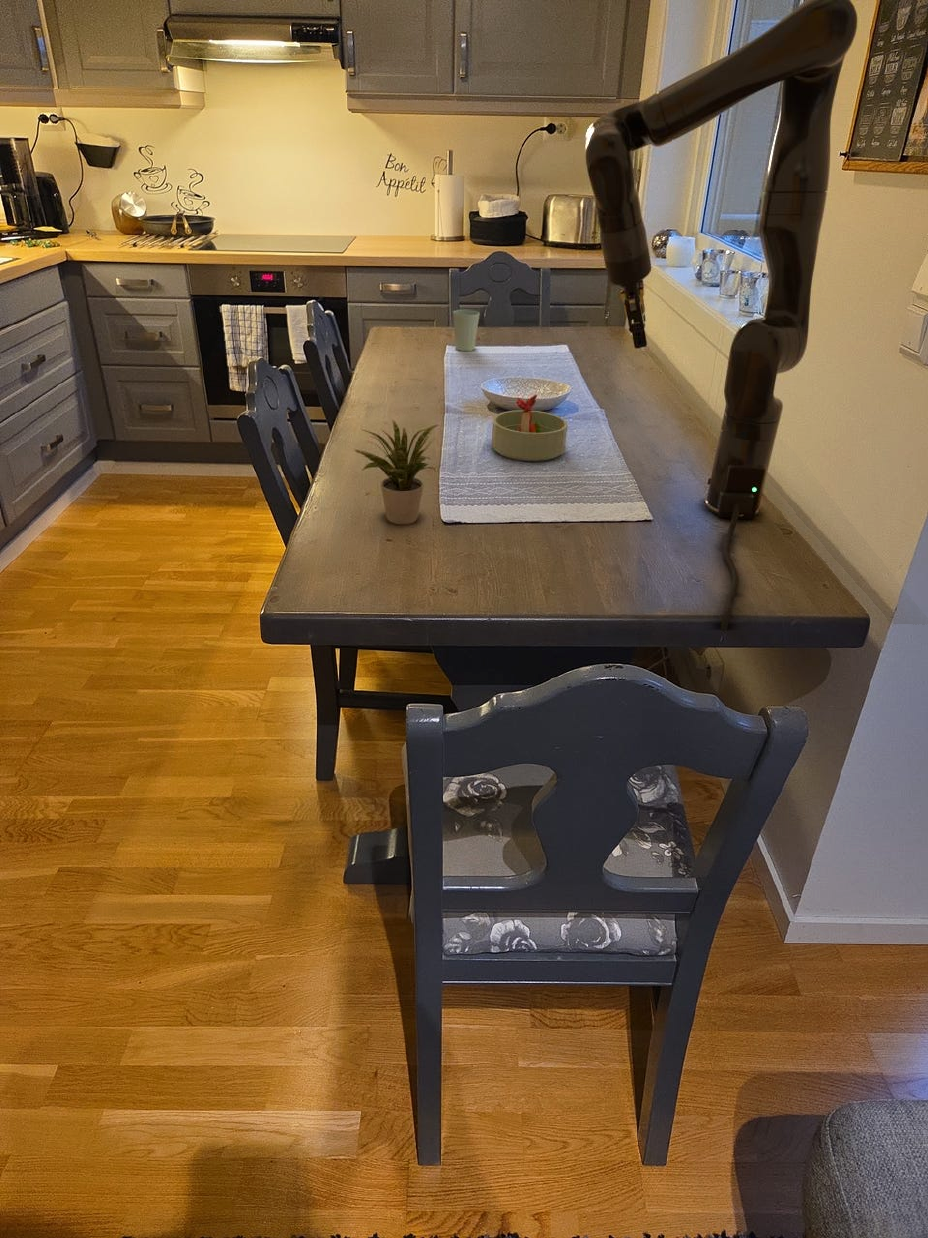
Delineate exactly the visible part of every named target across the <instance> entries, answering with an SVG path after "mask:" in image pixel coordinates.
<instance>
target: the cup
mask: <svg viewBox="0 0 928 1238" xmlns="http://www.w3.org/2000/svg"><path fill="white" fill-rule="evenodd" d="M452 314H453V330H454V331H453V333H454V343H455V350H457V351H461V352H471V351H474V350H475V347H476V340H477V333H478V325H479V320H480V312H479V311H477V310H472V309H456V310H454V311H452Z"/></svg>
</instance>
